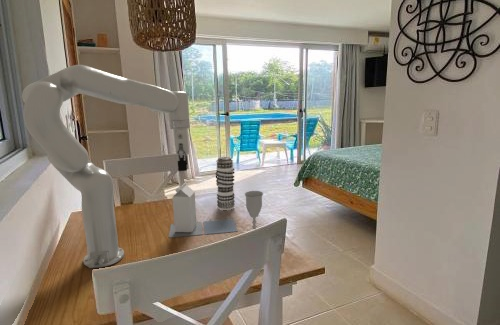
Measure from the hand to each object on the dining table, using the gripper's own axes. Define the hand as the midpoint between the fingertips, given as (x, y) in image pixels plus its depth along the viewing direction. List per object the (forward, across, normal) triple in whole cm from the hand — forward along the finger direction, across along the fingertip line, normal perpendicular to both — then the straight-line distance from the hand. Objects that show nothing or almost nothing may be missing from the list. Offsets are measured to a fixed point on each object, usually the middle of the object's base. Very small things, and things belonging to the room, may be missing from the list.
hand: (183, 167), depth 123 cm
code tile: (+26, 0, +1) cm, 26 cm away
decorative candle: (+27, +22, -18) cm, 39 cm away
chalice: (+26, -14, -25) cm, 39 cm away
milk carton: (+26, 0, +1) cm, 26 cm away
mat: (+26, 0, -13) cm, 29 cm away
